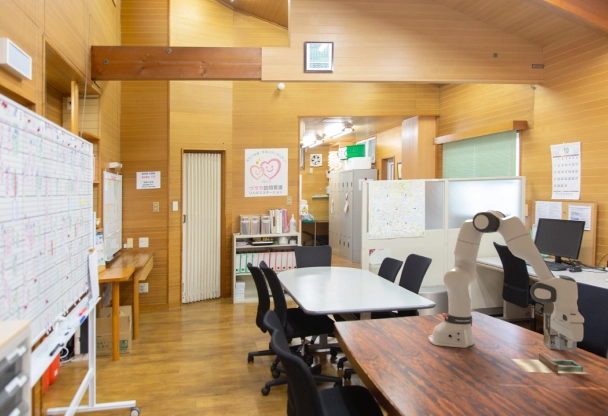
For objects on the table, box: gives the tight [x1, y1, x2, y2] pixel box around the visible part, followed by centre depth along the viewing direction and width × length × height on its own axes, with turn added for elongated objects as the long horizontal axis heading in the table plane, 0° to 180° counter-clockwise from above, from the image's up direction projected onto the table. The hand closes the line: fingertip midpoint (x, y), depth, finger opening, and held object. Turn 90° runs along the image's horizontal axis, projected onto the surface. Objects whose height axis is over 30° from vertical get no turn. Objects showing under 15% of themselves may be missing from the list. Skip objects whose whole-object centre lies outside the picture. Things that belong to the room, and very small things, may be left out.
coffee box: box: [543, 312, 560, 351], centre depth 214 cm, size 9×6×16 cm
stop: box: [555, 336, 578, 351], centre depth 186 cm, size 4×7×4 cm, turn 85°
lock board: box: [510, 352, 589, 375], centre depth 187 cm, size 26×15×4 cm, turn 85°
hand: (565, 345), depth 186 cm, fingers closed on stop, 4 cm apart
